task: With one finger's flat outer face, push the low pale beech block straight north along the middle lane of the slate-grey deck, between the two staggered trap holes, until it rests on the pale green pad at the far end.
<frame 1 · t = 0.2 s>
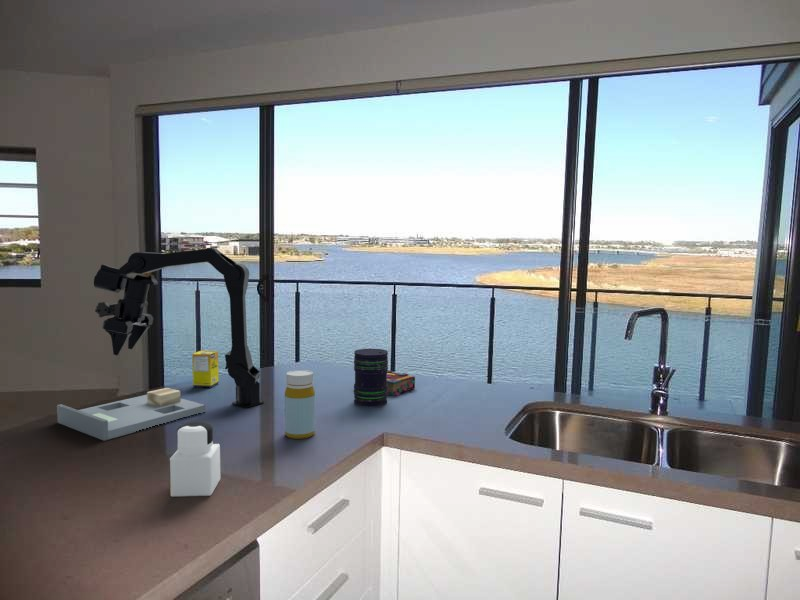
hand: (123, 351, 149), 15 cm above the worktop, tool pointing down, fingers open, 9 cm apart
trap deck: (136, 416, 141), on the worktop
storage jar: (370, 403, 157), on the worktop
beech block: (164, 402, 147), point 2 cm above the worktop, touching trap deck
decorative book: (387, 390, 173), on the worktop
supplement box: (206, 386, 173), on the worktop
bottle: (300, 435, 129), on the worktop
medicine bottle: (196, 489, 99), on the worktop
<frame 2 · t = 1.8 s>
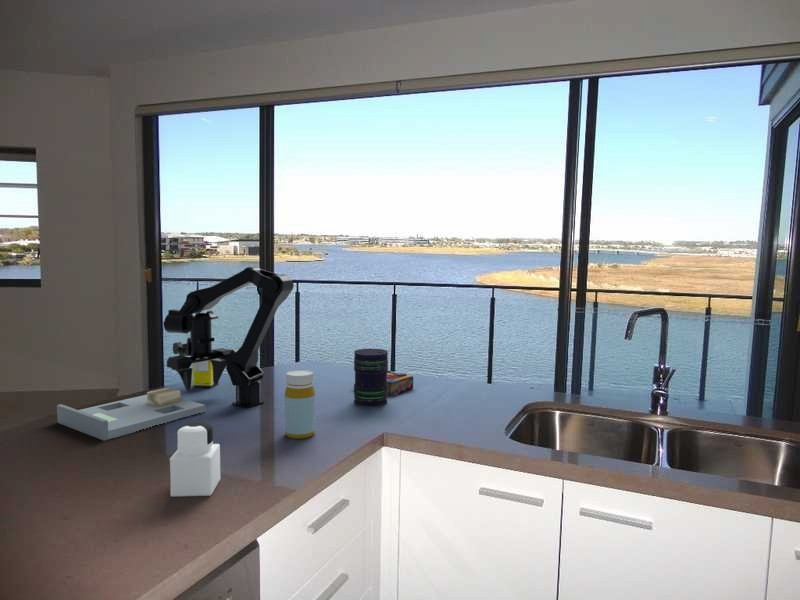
hand: (202, 387, 157), 4 cm above the worktop, tool pointing down, fingers open, 9 cm apart
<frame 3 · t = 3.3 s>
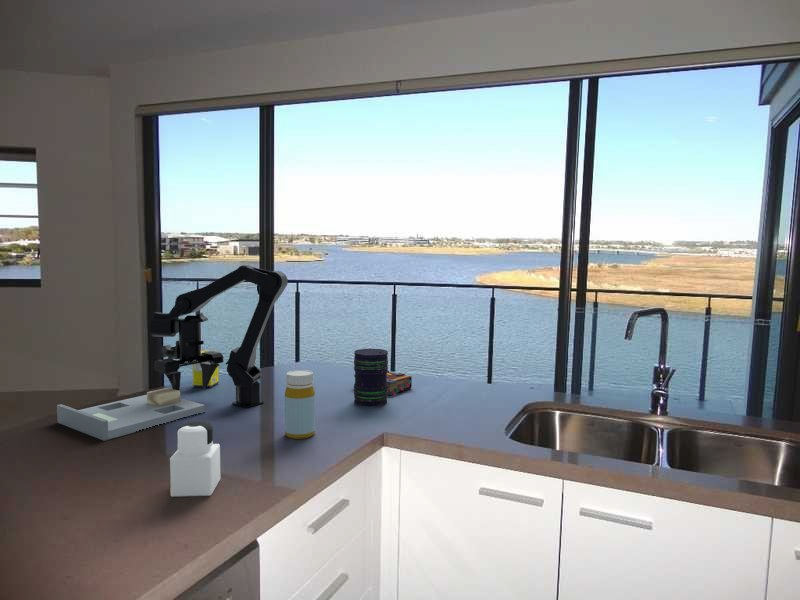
hand: (191, 391, 154), 3 cm above the worktop, tool pointing down, fingers open, 9 cm apart
beech block: (163, 402, 147), point 2 cm above the worktop, touching gripper
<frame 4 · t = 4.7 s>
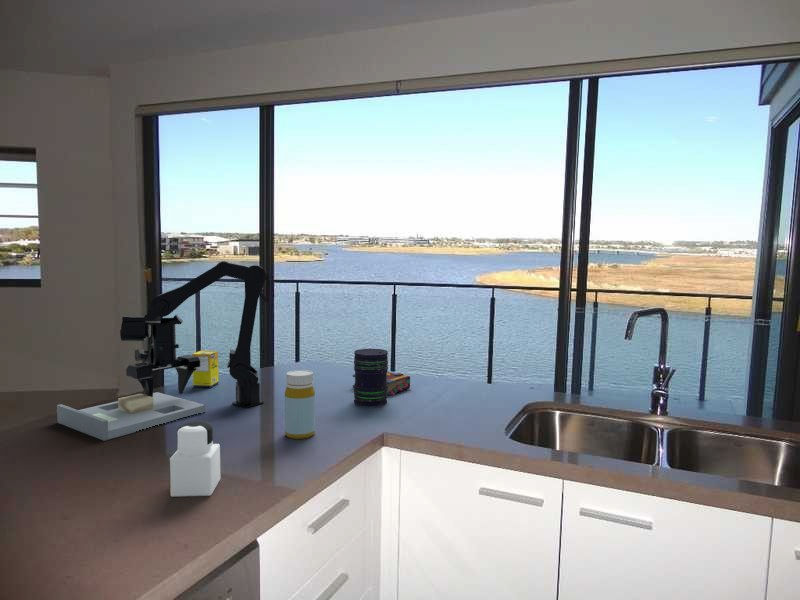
hand: (165, 397, 147), 3 cm above the worktop, tool pointing down, fingers open, 9 cm apart
beech block: (136, 409, 140), point 2 cm above the worktop, touching gripper
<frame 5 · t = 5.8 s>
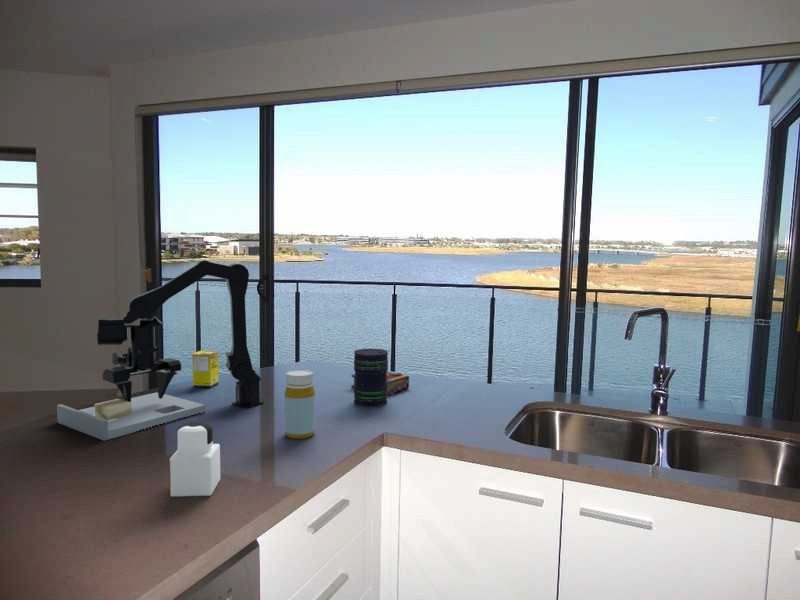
hand: (144, 402, 142), 3 cm above the worktop, tool pointing down, fingers open, 9 cm apart
beech block: (113, 414, 135), point 2 cm above the worktop, touching gripper
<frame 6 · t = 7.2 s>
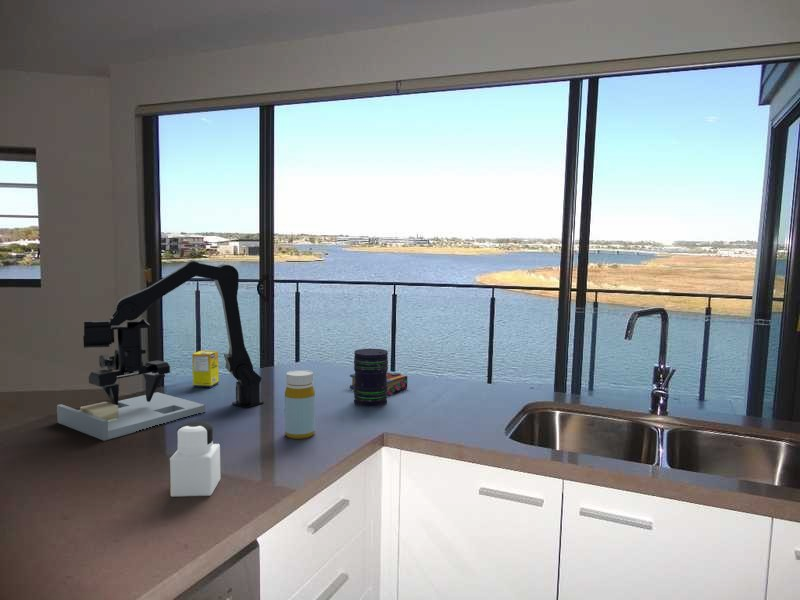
hand: (132, 405, 140), 3 cm above the worktop, tool pointing down, fingers open, 8 cm apart
beech block: (99, 418, 133), point 2 cm above the worktop, touching gripper, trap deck
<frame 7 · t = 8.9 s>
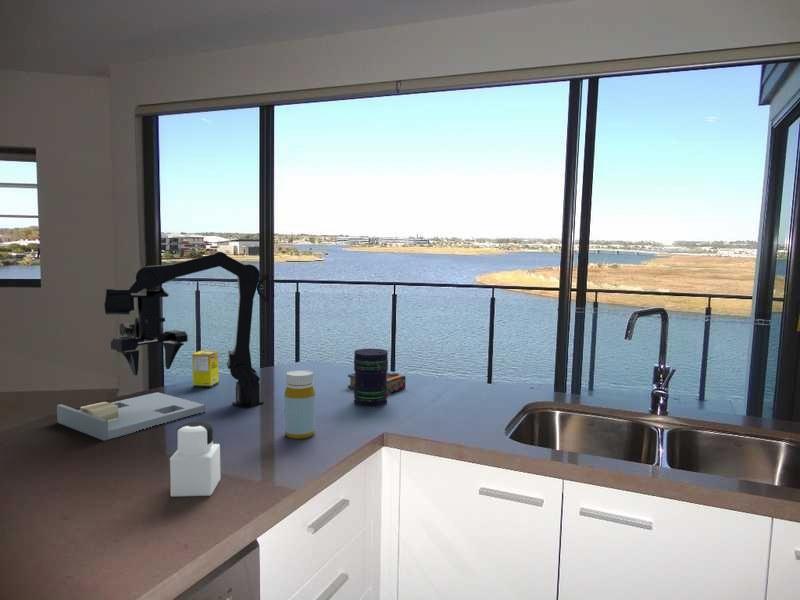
hand: (151, 372, 144), 11 cm above the worktop, tool pointing down, fingers open, 9 cm apart
beech block: (99, 418, 133), point 2 cm above the worktop, touching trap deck
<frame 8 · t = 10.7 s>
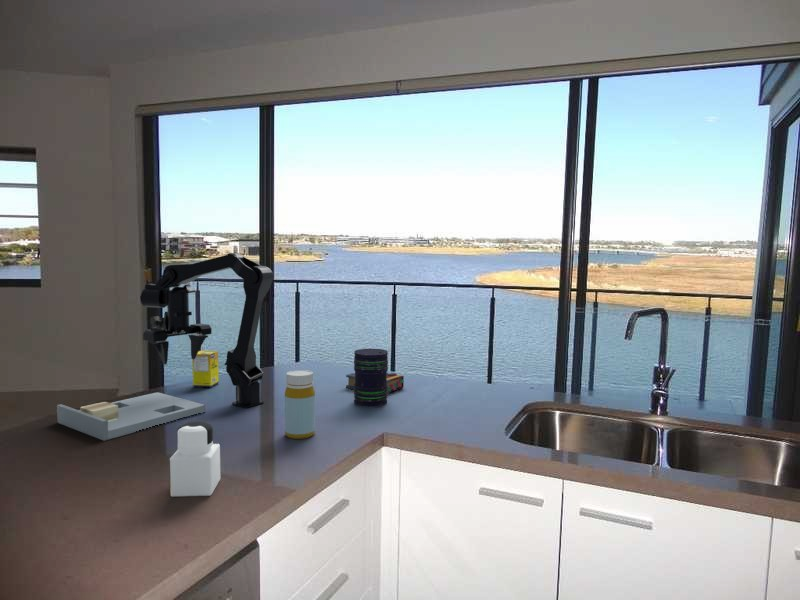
hand: (179, 361, 157), 11 cm above the worktop, tool pointing down, fingers open, 9 cm apart
at the end: beech block 0.1 cm from the target spot on the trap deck, point 2.0 cm above the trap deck's base; beech block tilted 0° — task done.
